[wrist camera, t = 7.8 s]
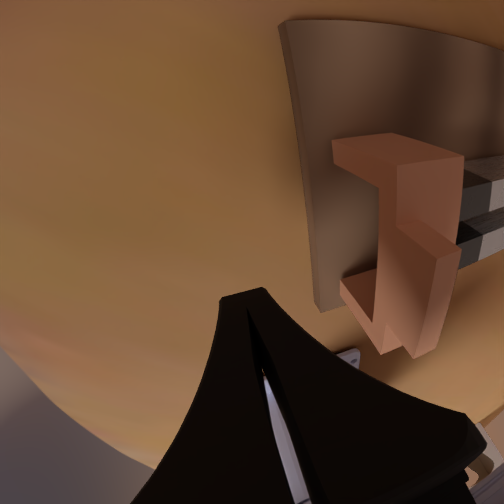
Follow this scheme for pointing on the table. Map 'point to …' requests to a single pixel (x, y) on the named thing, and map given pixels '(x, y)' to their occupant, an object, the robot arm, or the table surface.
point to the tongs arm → (482, 186)
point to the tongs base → (480, 236)
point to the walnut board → (379, 121)
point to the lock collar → (406, 239)
